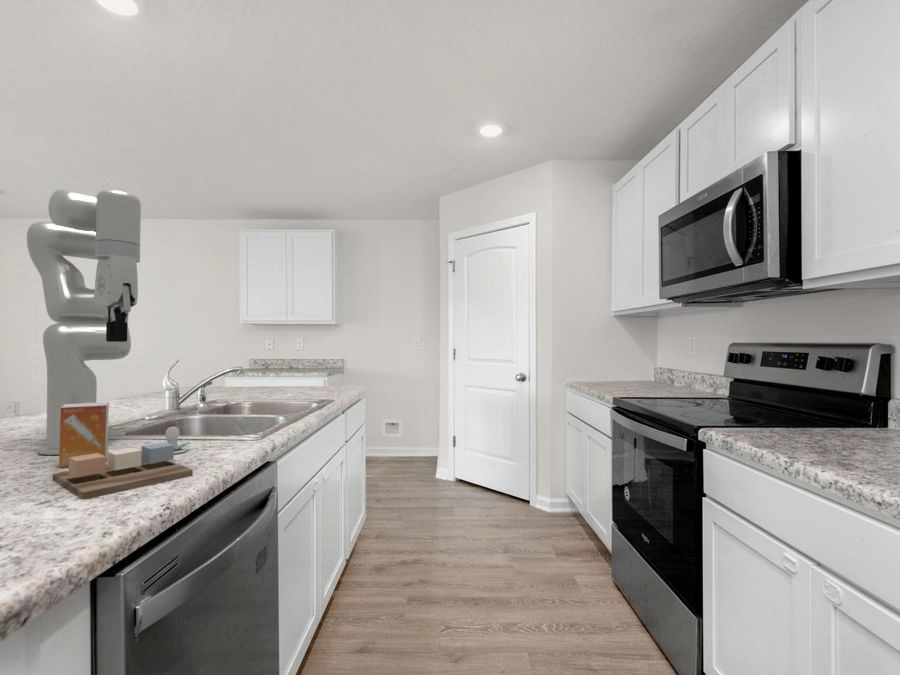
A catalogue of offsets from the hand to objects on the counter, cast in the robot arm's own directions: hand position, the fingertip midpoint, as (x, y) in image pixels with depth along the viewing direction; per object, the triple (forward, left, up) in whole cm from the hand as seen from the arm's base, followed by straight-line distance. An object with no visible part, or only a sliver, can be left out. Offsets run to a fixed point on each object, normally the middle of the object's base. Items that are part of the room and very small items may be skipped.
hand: (116, 341), depth 94 cm
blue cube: (+5, +6, -25) cm, 26 cm away
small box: (-15, -1, -27) cm, 31 cm away
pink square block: (+5, -6, -25) cm, 26 cm away
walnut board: (+5, 0, -27) cm, 28 cm away
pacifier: (-10, +15, -28) cm, 33 cm away
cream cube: (+5, 0, -25) cm, 25 cm away
